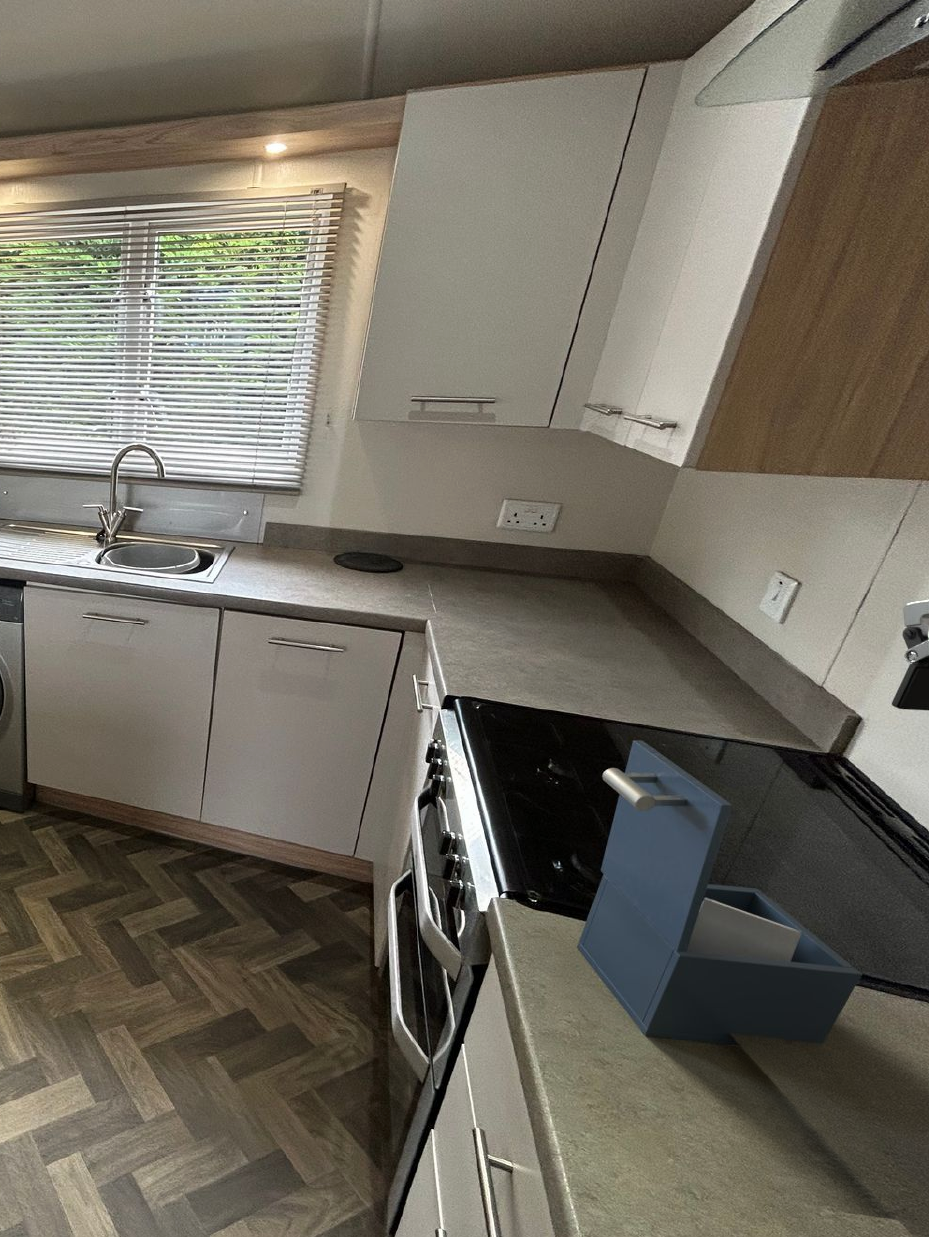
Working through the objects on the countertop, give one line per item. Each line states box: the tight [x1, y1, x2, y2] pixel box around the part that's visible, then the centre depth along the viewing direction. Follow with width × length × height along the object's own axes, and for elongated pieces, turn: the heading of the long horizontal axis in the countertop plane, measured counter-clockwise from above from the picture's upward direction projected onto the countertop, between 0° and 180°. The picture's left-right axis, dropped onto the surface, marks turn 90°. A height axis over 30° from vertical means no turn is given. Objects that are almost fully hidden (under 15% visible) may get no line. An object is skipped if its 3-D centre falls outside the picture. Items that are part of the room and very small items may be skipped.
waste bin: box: [576, 874, 862, 1048], centre depth 71 cm, size 15×12×10 cm
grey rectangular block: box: [687, 897, 802, 962], centre depth 70 cm, size 4×7×10 cm, turn 47°
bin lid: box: [600, 739, 733, 952], centre depth 68 cm, size 15×12×5 cm
